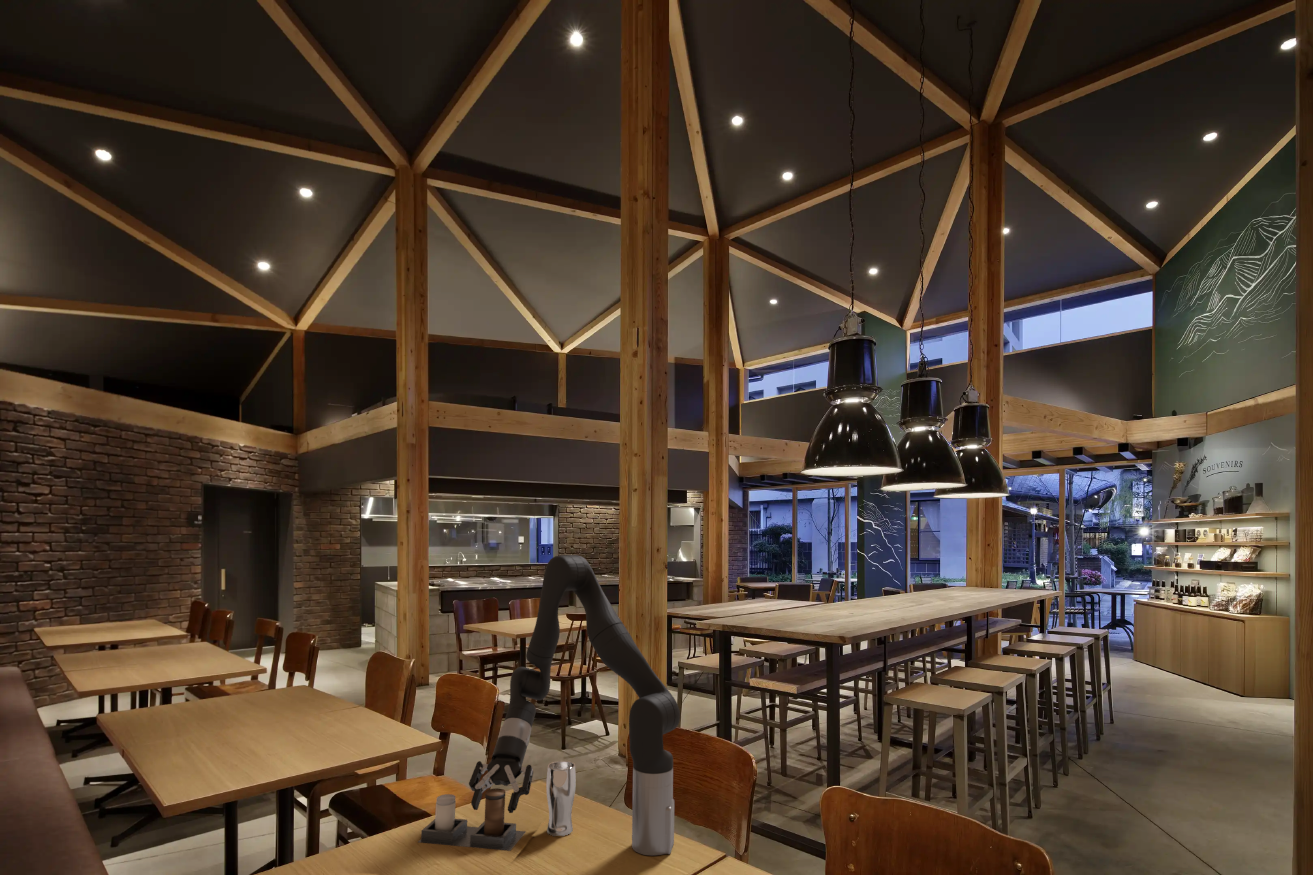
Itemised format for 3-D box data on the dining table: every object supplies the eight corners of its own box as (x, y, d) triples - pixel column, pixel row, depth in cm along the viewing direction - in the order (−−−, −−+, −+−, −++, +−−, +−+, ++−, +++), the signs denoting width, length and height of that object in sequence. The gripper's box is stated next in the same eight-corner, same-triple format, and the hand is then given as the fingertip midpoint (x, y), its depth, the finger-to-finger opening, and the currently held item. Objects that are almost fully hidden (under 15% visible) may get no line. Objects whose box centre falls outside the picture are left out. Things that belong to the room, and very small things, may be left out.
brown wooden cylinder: (506, 834, 162) (508, 788, 164) (499, 842, 158) (500, 795, 159) (488, 833, 163) (490, 787, 165) (480, 841, 159) (482, 794, 160)
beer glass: (577, 825, 170) (578, 760, 172) (570, 838, 163) (572, 770, 165) (549, 824, 171) (551, 759, 173) (541, 836, 164) (543, 769, 166)
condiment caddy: (525, 835, 164) (526, 822, 165) (510, 855, 155) (510, 840, 155) (438, 828, 168) (438, 814, 168) (417, 846, 158) (418, 832, 159)
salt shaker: (457, 830, 164) (459, 794, 165) (448, 838, 160) (450, 801, 161) (439, 829, 165) (441, 793, 166) (430, 837, 161) (432, 800, 162)
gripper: (481, 732, 172) (458, 799, 159) (537, 735, 169) (518, 804, 157) (488, 748, 176) (467, 815, 163) (543, 752, 174) (525, 819, 161)
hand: (492, 809), depth 160 cm, fingers open, 8 cm apart
